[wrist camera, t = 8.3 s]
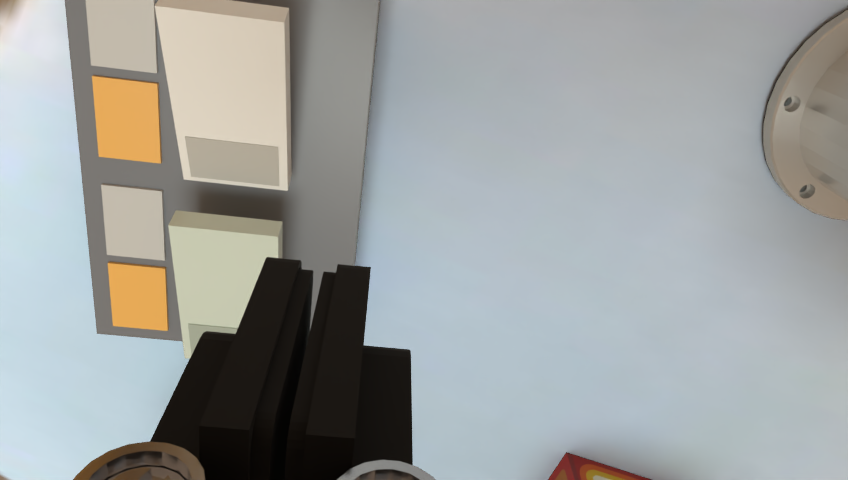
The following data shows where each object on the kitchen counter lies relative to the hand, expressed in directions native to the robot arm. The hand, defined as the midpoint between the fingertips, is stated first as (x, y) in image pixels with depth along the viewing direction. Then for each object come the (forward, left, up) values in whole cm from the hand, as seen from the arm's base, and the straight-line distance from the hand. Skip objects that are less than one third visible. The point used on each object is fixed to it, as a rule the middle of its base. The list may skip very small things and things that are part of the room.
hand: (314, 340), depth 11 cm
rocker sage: (+6, +12, -21) cm, 25 cm away
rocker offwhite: (+6, +2, -21) cm, 22 cm away
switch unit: (+7, +7, -27) cm, 29 cm away
